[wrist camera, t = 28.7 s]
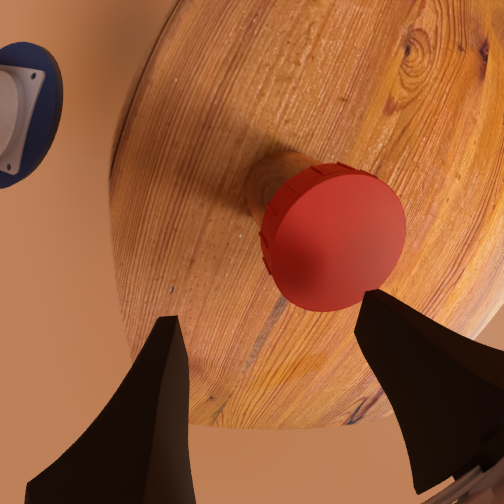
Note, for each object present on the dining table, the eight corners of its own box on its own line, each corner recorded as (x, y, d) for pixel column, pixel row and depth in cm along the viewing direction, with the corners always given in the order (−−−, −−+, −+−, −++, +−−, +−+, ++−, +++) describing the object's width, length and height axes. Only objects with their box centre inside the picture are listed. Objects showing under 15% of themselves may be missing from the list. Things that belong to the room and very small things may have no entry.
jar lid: (357, 137, 10) (383, 144, 8) (394, 245, 13) (416, 263, 11) (231, 212, 11) (237, 232, 9) (296, 308, 14) (309, 334, 12)
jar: (234, 216, 18) (256, 283, 11) (261, 139, 16) (305, 157, 9) (305, 235, 19) (356, 301, 13) (333, 166, 17) (406, 203, 11)
